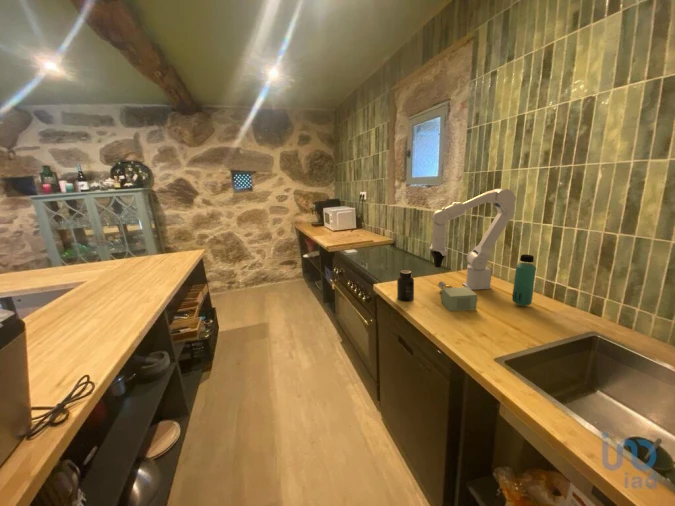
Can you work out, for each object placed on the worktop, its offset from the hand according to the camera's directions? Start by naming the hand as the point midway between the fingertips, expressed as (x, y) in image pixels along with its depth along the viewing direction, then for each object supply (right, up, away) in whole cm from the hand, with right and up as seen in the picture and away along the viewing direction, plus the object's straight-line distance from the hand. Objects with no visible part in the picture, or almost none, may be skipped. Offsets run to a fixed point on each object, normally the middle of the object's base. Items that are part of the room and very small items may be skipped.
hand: (437, 266), depth 127 cm
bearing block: (+1, -14, -19) cm, 23 cm away
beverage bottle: (+24, -14, -21) cm, 35 cm away
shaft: (+1, -12, -10) cm, 16 cm away
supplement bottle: (-17, -13, -9) cm, 23 cm away
